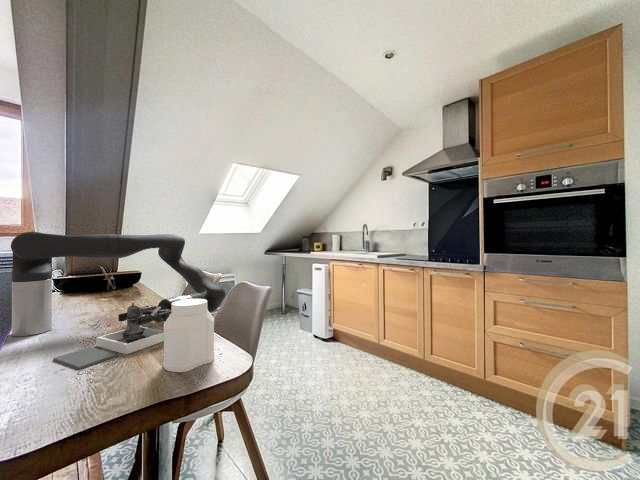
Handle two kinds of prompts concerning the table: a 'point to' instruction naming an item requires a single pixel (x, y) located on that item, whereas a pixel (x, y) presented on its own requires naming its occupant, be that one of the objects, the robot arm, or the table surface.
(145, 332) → the frame
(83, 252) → the robot arm
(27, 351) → the table surface
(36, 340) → the table surface
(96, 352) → the rubber mat
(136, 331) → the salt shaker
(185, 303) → the jar
